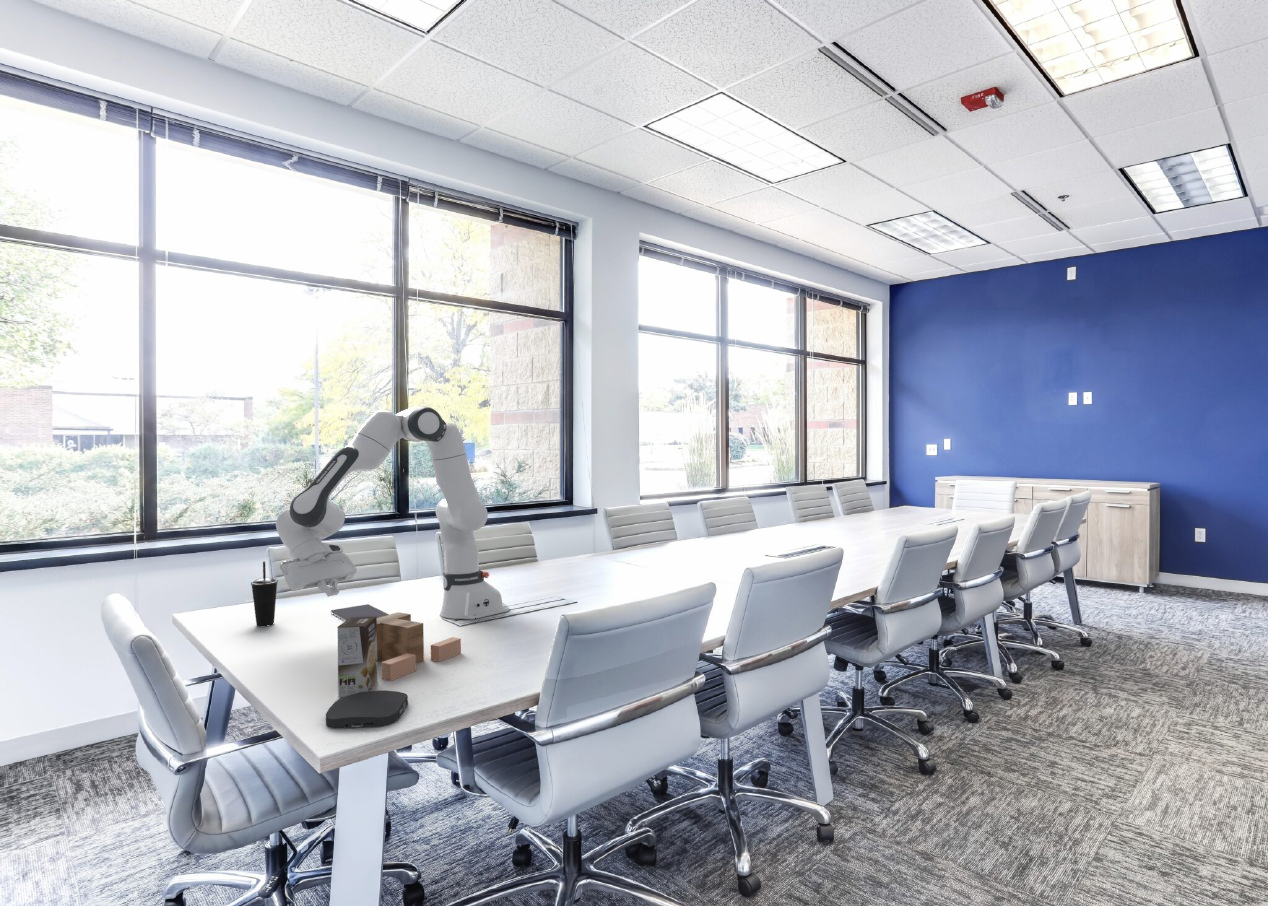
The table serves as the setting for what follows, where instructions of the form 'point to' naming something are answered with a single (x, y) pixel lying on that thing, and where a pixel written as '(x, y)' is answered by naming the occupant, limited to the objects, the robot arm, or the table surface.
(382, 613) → the notebook
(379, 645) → the t block
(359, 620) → the coffee box
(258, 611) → the drinking cup
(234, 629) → the table surface
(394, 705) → the media streaming box
